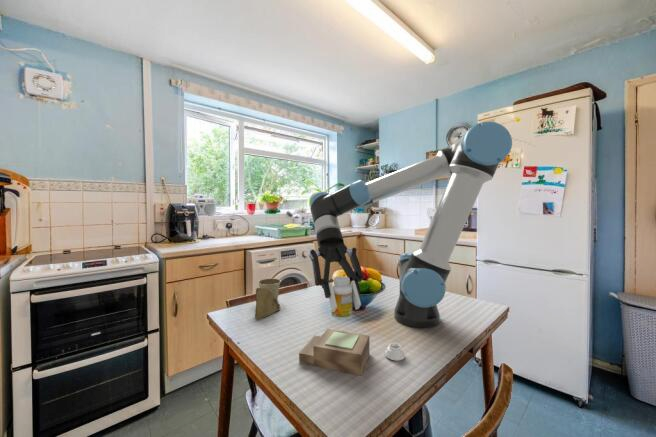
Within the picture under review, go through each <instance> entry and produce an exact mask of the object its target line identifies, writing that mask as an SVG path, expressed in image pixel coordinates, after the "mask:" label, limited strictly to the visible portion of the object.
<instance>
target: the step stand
mask: <svg viewBox="0 0 656 437" xmlns="http://www.w3.org/2000/svg"><path fill="white" fill-rule="evenodd" d="M369 356H370V335H368V334H362V333H355V332H349V331H344V330H336V329H330V328H327V329H325V331H324V332H323V333H322V335H321V336H320V335H313V336H312V338H311V339H310V340H308V342H307V343H306V344H305V345H304V347H303V348H302V349H301V350H300V351H299V353H298V363H299V364H304V365H309V366H313V367H318V368H323V369H328V370H333V371H336V372H342V373H346V374H352V375H357V376H361V377H362V374H363V371H364V369H365V366H366V364H367V361H368V358H369Z"/></svg>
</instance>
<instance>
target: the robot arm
mask: <svg viewBox="0 0 656 437" xmlns="http://www.w3.org/2000/svg"><path fill="white" fill-rule="evenodd" d="M512 146H513V137H512V135H511V134H510V131H509V130H508V128H506V127H505V125H503V124H501V123H498V122H495V121H481V122H479V123H477V124H475V125H473V126H471V127H469V128H468V129H467V130H466V132H465V133H464V134H463V135H462V136H461V137H460V138H459V139H457V141H455V142H454V143H452V144H451V145H449V146H447V147H445V148H443V149H440V150H438V152H437V154H436V155H434V156H431V157H428V158H426V159H424V160H422V161H418V162H416V163H413V164H412V165H408V166H406V167H404V168H401V169H398V170H396V171H394V172H391V173H388V174H385V175H383V176H381V177H378V178H375V179H373V180H371V181H368V182H365V181H364V180H362V179H359V180H356V181H354V182H351V183H350V184H348V185H345V186H343V188H341V189H339V190H337V191H335V192H332V193H329V192H327V191H321V192H320V191H318V192H315V193H314V194H313V195H312V196H311V198H310V200H309V204H310V205H309V207H310V209H309V210H310V213H311V217H312V222H313V225H314V231H315V236H316V242H317V246H318V249H312V248H311V250H309V251H310V252H309V255H308V256H309V258H310V260H311V262H312V269H313V270H312V271H313V277H314V278H313V279H314V284H315V286H317V287H319V286H321V288H322V289H323V294H324V298H325V299H329V304H330V309H331V310H332V312H335V310H336V308H337V304H336V299H335V295H334V290H333V286H334V284H333V282H332V281H331V282H329V280H330V268H331V263H334V262H335V263H338V265H339V266H341V268H342V270H343V271H344V273H345V275H346V277H348V278H350V284H349V286H351V288H352V303H353V306H354V308H355V310H359V309H360V307H361V306H362V302H361V299H360V294H361V291H362V290H361V287H360V283H361V282H362V281H363V278H364V276H365V275H364V273H363V270H362V267H361V265H360V262H359V259H358V256H357V247H352V248H348V247H347V245H346V244H345V241H344V238H343V234H342V231H341V226H340V223H339V221H338V220H339V219H338V217H341V216H342V215H344V214H346V213H349V212H351V211H353V210H359V209H360V210H361V209H362V208H364V207H366V206H370V205H372V204H374V203H377V202H379V201H382V200H384V199H387V198H390V197H393V196H396V195H399V194H401V193H403V192H406V191H409V190H412V189H414V188H417V187H419V186H423V185H425V184H427V183H430V182H433V181H436V180H438V179H441V178H444V177H446V178H448V179H449V180H448V182H447V185H446V186H445V189H444V192H443V194H442V196H441V199H440V200H439V203H438V204H437V208H436V210H435V212H434V213H433V214H434V215H433V217H432V219H431V221H430V224H429V226H428V229H427V231H426V233H425V236H424V237H423V240H422V243H421V244H420V246H419V248H418V249H416V250H413V251H412V252H411V253H410V252H406V253H405V252H404V253H401V254H400V255H399V259H398V263H399V295H398V298H397V302H396V304H395V308H394V311H393V312H394V314H393V315H394V319H395V320H396V321H397V322H398V323H400V324H402V325H405V326H409V327H412V328H419V329H420V328H421V329H423V328H433V327H436V326H438V325H439V324H440V323H441V322H440V321H441V320H440V319H441V318H440V317H441V315H440V312H439V309H438V306H437V305H438V304H439V303H441V301H442V300H443V299H444V297H445V294H446V288H447V286H446V282H447V279H448V277H449V275H450V273H451V271H452V267H451V265H450V263H449V261H450V258H451V256H452V254H453V253H454V249H455V247H456V246H457V243H458V240H459V238H460V236H461V234H462V232H463V229H464V227H465V225H466V224H467V221H468V218H469V217H470V214H471V211H473V207H474V205H475V203H476V201H477V199H478V197H479V195H480V191H481V190H482V188H483V185H484V184H485V183H486V182H487V183H488V181H492V179H493V178H494V177H495V174H496V172H497V169H498V167H499V164H500V163H502V162H503V161H505V159H506V158H507V157H508V156H509V155H510V152H511V150H512V148H513V147H512ZM346 254H347V255H348V257H349V259H350V263H351V265H350V263H349V261H348V259H347V256H346ZM319 256H320V257H321V258H323V259H324V267H323V268H324V269H323V275H322V274H321V269H320V262H319ZM322 276H323V277H322Z"/></svg>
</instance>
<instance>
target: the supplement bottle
mask: <svg viewBox="0 0 656 437" xmlns="http://www.w3.org/2000/svg"><path fill="white" fill-rule="evenodd" d="M333 283H334V284H333V290H334V295H335V299H336V304H337V308H336V310H335V312H332V310H331V312H330V313H331V316H332V317H333V319H337V320H347V319H350V318H352V316H353V298H352V288H351V286H350V284H351V282H350V278H348V277H347V276H342V275H341V276H336V277H334V278H333Z"/></svg>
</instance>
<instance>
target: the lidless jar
mask: <svg viewBox="0 0 656 437" xmlns="http://www.w3.org/2000/svg"><path fill="white" fill-rule="evenodd" d="M384 355H385V356H384V357H386V358H387V359H388V360H392V361H397V362H398V361H403V360H404V359H405V357H406V355H405V352H404V350H403V349H402V347H401V345H400V344H399V343H397V342H391V343H389V344H388V346H387V348H386V349H385V351H384Z"/></svg>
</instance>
